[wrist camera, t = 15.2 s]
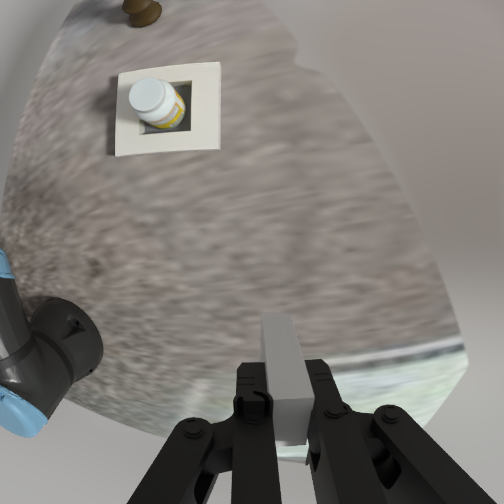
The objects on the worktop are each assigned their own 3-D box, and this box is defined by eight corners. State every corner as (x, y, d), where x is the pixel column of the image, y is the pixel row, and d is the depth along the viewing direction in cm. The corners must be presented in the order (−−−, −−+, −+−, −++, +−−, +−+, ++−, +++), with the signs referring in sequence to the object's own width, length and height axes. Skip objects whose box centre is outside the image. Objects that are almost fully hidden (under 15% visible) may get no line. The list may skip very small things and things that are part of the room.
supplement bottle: (185, 128, 37) (168, 115, 28) (147, 131, 37) (121, 120, 27) (187, 91, 36) (171, 69, 26) (150, 94, 35) (124, 74, 26)
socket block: (122, 157, 38) (115, 156, 35) (125, 78, 35) (118, 73, 32) (220, 150, 38) (218, 149, 36) (221, 68, 35) (219, 61, 33)
